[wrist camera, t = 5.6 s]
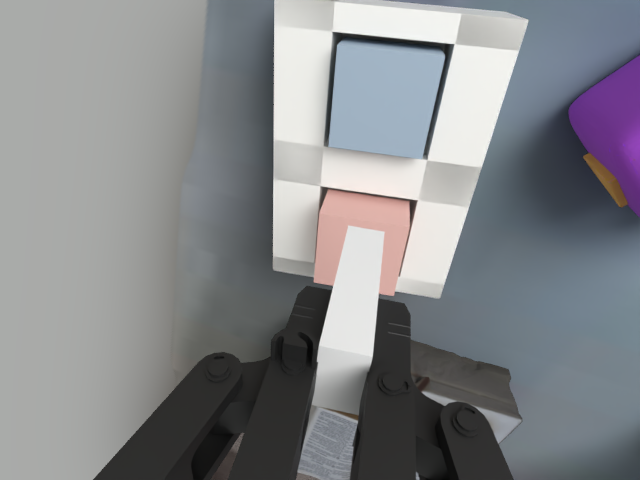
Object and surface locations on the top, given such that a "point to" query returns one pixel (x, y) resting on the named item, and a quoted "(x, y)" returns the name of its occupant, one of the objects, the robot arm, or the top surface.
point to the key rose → (363, 214)
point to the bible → (433, 381)
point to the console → (380, 169)
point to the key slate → (384, 96)
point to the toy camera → (613, 132)
